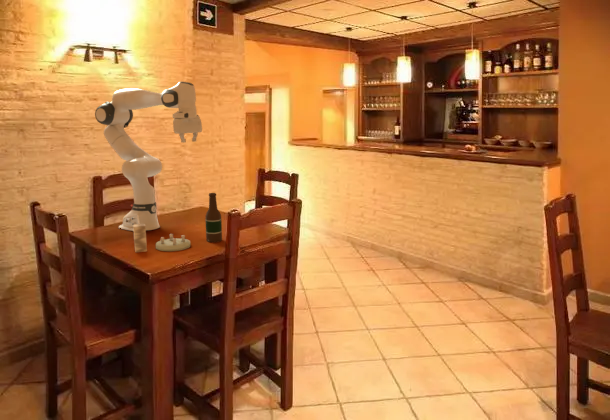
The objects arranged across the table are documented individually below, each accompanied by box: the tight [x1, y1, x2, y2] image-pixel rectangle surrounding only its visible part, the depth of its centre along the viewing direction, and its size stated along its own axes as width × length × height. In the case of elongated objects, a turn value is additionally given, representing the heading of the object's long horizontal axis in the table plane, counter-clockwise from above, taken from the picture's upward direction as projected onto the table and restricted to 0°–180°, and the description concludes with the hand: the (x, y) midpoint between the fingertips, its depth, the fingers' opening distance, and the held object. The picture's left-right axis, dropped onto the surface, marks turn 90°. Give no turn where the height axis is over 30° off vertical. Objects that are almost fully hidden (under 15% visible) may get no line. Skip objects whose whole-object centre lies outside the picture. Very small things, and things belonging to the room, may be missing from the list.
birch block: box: [132, 224, 148, 253], centre depth 226 cm, size 5×5×12 cm
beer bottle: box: [204, 192, 223, 243], centre depth 243 cm, size 8×8×24 cm
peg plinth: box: [155, 233, 191, 252], centre depth 233 cm, size 16×16×5 cm
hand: (189, 142), depth 252 cm, fingers open, 8 cm apart
